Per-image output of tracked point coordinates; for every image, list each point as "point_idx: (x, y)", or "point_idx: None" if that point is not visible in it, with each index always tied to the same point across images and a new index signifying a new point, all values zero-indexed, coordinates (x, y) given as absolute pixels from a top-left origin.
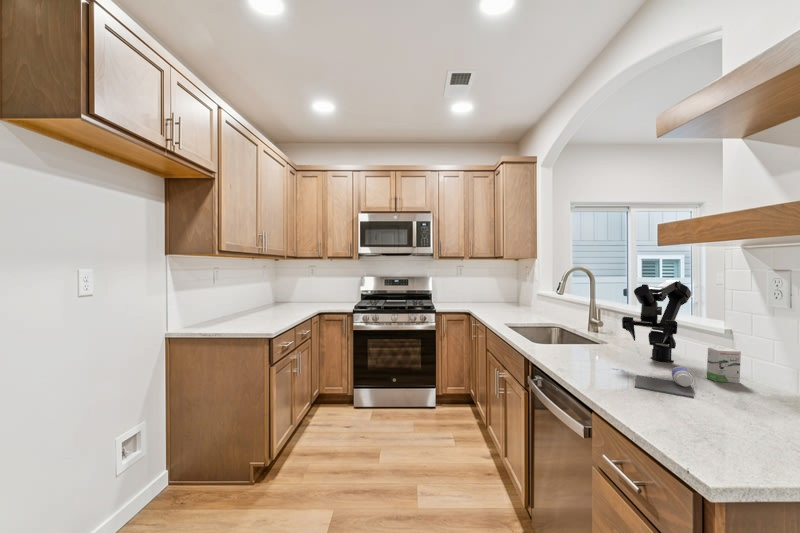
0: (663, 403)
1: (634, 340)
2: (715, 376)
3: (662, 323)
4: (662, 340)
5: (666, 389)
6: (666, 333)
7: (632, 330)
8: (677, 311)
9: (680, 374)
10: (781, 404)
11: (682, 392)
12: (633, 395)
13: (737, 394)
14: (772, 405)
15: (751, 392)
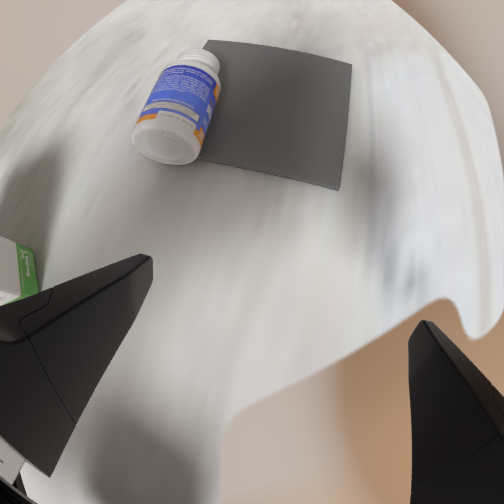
0: (295, 7)
1: (415, 334)
2: (22, 249)
3: None
4: (133, 260)
5: (265, 59)
6: (26, 298)
7: (495, 397)
8: None
9: (204, 56)
10: (26, 105)
11: (225, 53)
12: (351, 28)
13: (62, 125)
14: (50, 86)
15: (14, 169)
